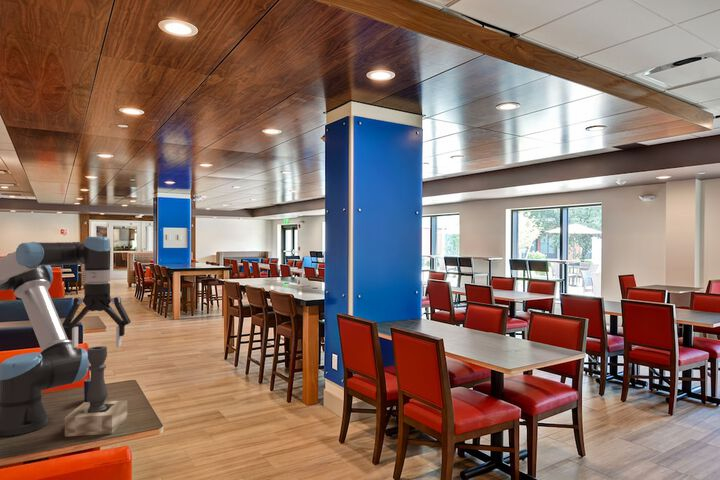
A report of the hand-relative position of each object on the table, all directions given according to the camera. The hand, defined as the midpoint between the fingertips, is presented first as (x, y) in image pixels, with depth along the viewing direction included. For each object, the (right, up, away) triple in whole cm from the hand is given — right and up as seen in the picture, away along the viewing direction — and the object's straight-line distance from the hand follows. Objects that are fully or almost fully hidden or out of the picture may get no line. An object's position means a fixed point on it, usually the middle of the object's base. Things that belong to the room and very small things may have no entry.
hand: (97, 346), depth 155 cm
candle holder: (0, -26, 0) cm, 26 cm away
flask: (-16, -27, +25) cm, 40 cm away
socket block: (0, -27, 0) cm, 27 cm away
